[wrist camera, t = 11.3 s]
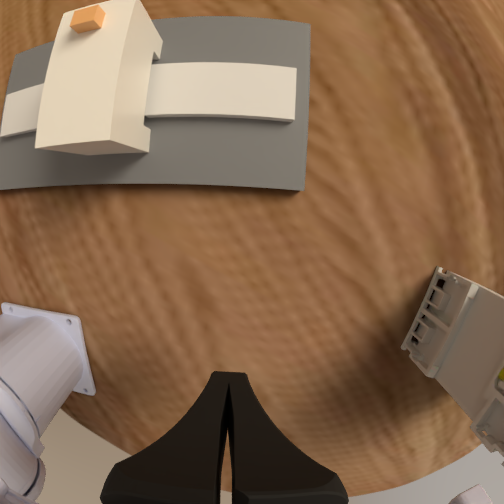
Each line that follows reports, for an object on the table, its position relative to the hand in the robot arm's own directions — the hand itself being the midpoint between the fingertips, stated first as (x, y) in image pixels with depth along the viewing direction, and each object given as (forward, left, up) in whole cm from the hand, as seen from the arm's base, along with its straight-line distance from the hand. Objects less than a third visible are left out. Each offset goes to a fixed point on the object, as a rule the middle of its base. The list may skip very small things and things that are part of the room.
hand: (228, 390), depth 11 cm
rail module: (-8, +14, -8) cm, 18 cm away
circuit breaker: (+22, -2, -10) cm, 24 cm away
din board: (-8, +14, -9) cm, 19 cm away
